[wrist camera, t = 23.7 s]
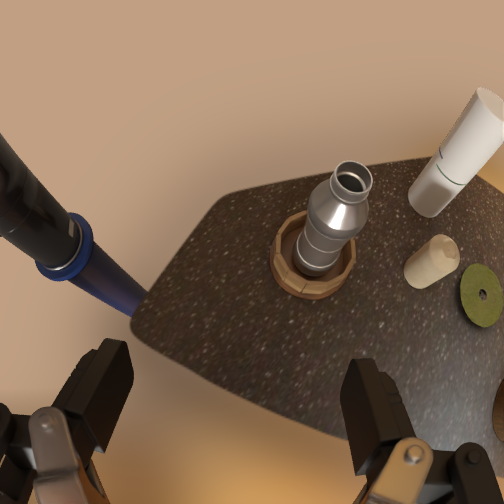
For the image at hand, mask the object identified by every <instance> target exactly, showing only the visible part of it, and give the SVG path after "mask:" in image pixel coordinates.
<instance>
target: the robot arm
mask: <svg viewBox="0 0 504 504" xmlns="http://www.w3.org/2000/svg"><path fill="white" fill-rule="evenodd" d="M0 237H4V238H5V239H6V240H8V241H9V242H10V243H12V244H13V245H15V246H16V247H17V248H19V249H20V250H22V251H23V252H24V253H26V254H27V255H29V256H30V257H32V258H33V259H34V260H36V261H37V262H39V263H40V264H42V265H43V266H44V267H45V268H47V269H48V270H51V271H61V270H64V269H66V268H67V267H69V266H70V265H71V264H72V263H73V262H74V261H75V260H76V259H77V257H78V255H79V254H80V251H81V249H82V246H83V239H84V237H83V230H82V228H81V226H80V225H79V223H78V222H77V221H76V220H74V219H73V218H72V217H71V216H70V215H69V214H68V213H67V212H66V210H65V209H63V207H62V206H61V205H60V204H59V203H58V202H57V201H56V200H55V198H54V197H53V196H52V195H51V194H50V193H49V192H48V191H47V189H46V188H45V187H44V186H43V185H42V184H41V183H40V181H38V179H37V178H36V177H35V176H34V175H33V173H32V172H31V171H30V170H29V169H28V167H27V166H26V165H25V164H24V163H23V161H22V160H21V159H20V158H19V157H18V155H17V154H16V153H15V152H14V150H13V149H12V148H11V147H10V145H9V144H8V143H7V141H6V140H5V139H4V138H3V136H2V135H1V133H0ZM133 380H134V371H133V367H132V363H131V359H130V355H129V350H128V346H127V343H126V342H125V341H120V340H115V339H109V338H106V339H104V340H103V342H102V343H101V345H100V347H99V348H98V350H94V349H92V350H91V351H89V352H88V353H87V354H85V355H84V356H83V357H82V358H81V359H80V361H79V362H78V364H77V365H76V369H74V370H73V372H72V373H71V376H70V377H69V378H68V380H67V381H66V383H65V384H64V386H63V388H62V390H61V391H60V392H59V394H58V396H57V397H56V399H55V401H54V402H53V404H52V405H51V407H43V408H40V409H38V410H37V411H35V412H34V413H33V414H32V415H31V416H30V415H18V414H11V412H10V411H9V409H8V408H7V406H6V405H4V404H3V403H0V462H1V459H2V458H3V455H4V454H5V455H6V456H5V458H4V460H3V463H2V465H1V467H0V504H28V501H29V498H30V495H31V492H32V489H33V487H34V491H35V495H36V499H37V503H38V504H110V502H109V500H108V498H107V495H106V493H105V491H104V489H103V486H102V484H101V481H100V479H99V476H98V474H97V472H96V469H95V466H94V464H93V461H92V459H91V456H92V454H93V451H97V452H101V453H105V451H106V448H107V446H108V443H109V441H110V438H111V436H112V433H113V431H114V428H115V426H116V423H117V421H118V419H119V416H120V414H121V411H122V409H123V406H124V404H125V402H126V399H127V397H128V394H129V392H130V390H131V388H132V385H133ZM340 403H341V407H342V412H343V417H344V421H345V426H346V431H347V436H348V440H349V445H350V450H351V455H352V461H353V466H354V471H355V476H359V475H366V478H367V483H366V484H365V485H364V487H363V489H362V490H361V492H360V493H359V495H358V496H357V498H356V499H355V501H354V502H353V504H504V501H503V498H502V494H501V492H500V489H499V485H498V483H497V480H496V476H495V474H494V471H493V468H492V465H491V463H490V460H489V458H488V455H487V453H486V451H485V449H484V448H483V447H482V446H480V445H479V444H476V443H472V442H468V443H464V444H462V445H461V446H460V447H459V448H458V449H457V450H456V451H440V450H433V449H431V447H430V446H429V444H427V443H426V442H425V441H424V440H422V439H419V438H417V437H416V435H415V432H414V430H413V427H412V424H411V422H410V419H409V417H408V414H407V411H406V409H405V406H404V404H402V399H401V396H400V395H399V391H398V389H397V386H396V384H395V382H394V380H393V379H392V378H391V377H390V376H389V375H388V374H387V373H386V372H379V371H378V369H377V366H376V363H375V361H374V360H373V359H372V358H370V359H352V360H351V362H350V364H349V367H348V370H347V373H346V376H345V379H344V382H343V384H342V387H341V392H340Z"/></svg>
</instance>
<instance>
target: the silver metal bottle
mask: <svg viewBox="0 0 504 504" xmlns="http://www.w3.org/2000/svg"><path fill="white" fill-rule="evenodd" d="M372 182H373V179H372V175H371V173H370V171H369V170H368V169H367V168H366V167H365V166H364V165H362V164H361V163H359V162H356V161H351V160H348V161H343V162H341V163H340V164H338V166H337V167H336V168H335V171H334V173H333V174H332V176H331V178H330V179H327V180H325V181H323V182H321V183H320V184H319V185H318V186H317V187H316V188H315V189H314V190H313V191H312V193H311V195H310V197H309V202H308V207H307V220H306V224H305V227H304V229H303V231H302V232H301V233H300V234H299V236H298V237H297V239H296V240H295V242H294V244H293V249H292V254H293V261H294V263H295V265H296V267H297V268H298V269H299V270H300V271H301V272H302V273H304V274H306V275H308V276H321V275H324V274H326V273H328V272H329V271H331V270H332V269H333V268H334V267H335V265H336V263H337V261H338V259H339V256H340V252H341V250H342V247H343V246H344V245H345V244H346V243H347V241H348V240H350V239H351V238H352V237H353V236H355V235H356V234H357V233H358V232H359V231H360V230H361V229H362V228H363V226H364V225H365V223H366V221H367V217H368V208H369V206H368V201H367V196H368V193H369V190H370V189H371V186H372Z"/></svg>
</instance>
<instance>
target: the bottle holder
mask: <svg viewBox="0 0 504 504" xmlns="http://www.w3.org/2000/svg"><path fill="white" fill-rule="evenodd" d="M306 220H307V211H306V210H304V211H302V212H300V213H297V214H295V215H293V216H290V217H289V218H287V219H286V221H285V222H284V224H283V225H282V227H281V228H280V229H279V231H278V232H277V235H276V237H275V238H274V240H273V242H272V245H271V248H270V254H269V263H270V268H271V272H272V274H273V276H274V278H275V280H276V281H277V282H278V284H279V285H280V286H281V287H282V288H283V289H284V290H286V291H287V292H288V293H290V294H292V295H294V296H296V297H299V298H303V299H309V300H315V299H321V298H325V297H327V296H329V295H331V294H333V293H334V292H336V291H337V290H338V289H339V288H340V287H341V286H342V285H343V284H344V282H345V281H346V279H347V277H348V275H349V271H350V270H351V268H352V266H353V264H354V262H355V259H356V250H355V240H354V237H352V238H351V239H350V240H348V241H347V243H346V244H345V245H344V246H343V247H342V250H341V252H340V256H339V259H338V261H337V263H336V265H335V267H334V268H333V269H332V270H331V271H329V272H328V273H326V274H324V275H321V276H308V275H306V274H304V273H302V272H301V271H300V270H299V269H298V268H297V267H296V265H295V263H294V261H293V254H292V249H293V244H294V242H295V240H296V239H297V237H298V236H299V234H300V233H301V232H302V231H303V229H304V227H305V224H306Z"/></svg>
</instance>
